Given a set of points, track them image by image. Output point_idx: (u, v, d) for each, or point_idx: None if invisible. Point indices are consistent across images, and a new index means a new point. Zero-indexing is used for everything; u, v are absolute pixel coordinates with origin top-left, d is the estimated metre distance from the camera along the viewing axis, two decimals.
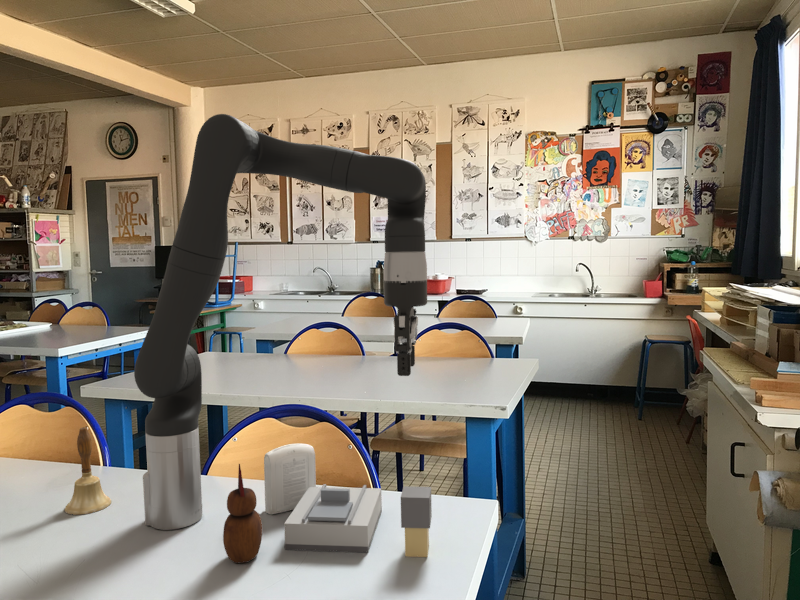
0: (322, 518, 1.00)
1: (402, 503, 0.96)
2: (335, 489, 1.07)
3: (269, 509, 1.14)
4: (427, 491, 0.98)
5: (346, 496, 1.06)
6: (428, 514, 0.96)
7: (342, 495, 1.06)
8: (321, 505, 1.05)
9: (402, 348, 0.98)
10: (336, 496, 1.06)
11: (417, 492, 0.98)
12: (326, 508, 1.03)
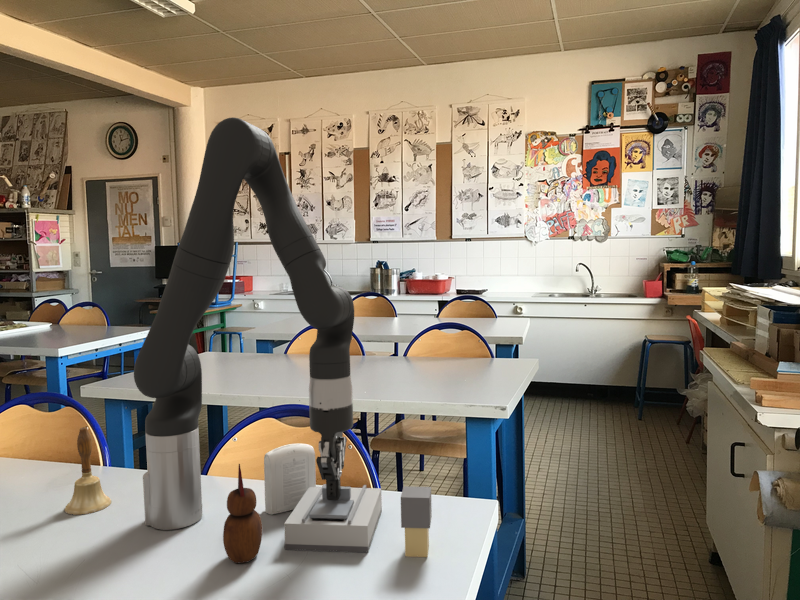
0: (324, 516, 1.01)
1: (402, 503, 0.96)
2: None
3: (269, 509, 1.14)
4: (427, 491, 0.98)
5: (347, 493, 1.07)
6: (428, 514, 0.96)
7: (343, 493, 1.07)
8: (322, 503, 1.06)
9: (329, 478, 1.02)
10: None
11: (417, 492, 0.98)
12: (327, 506, 1.04)
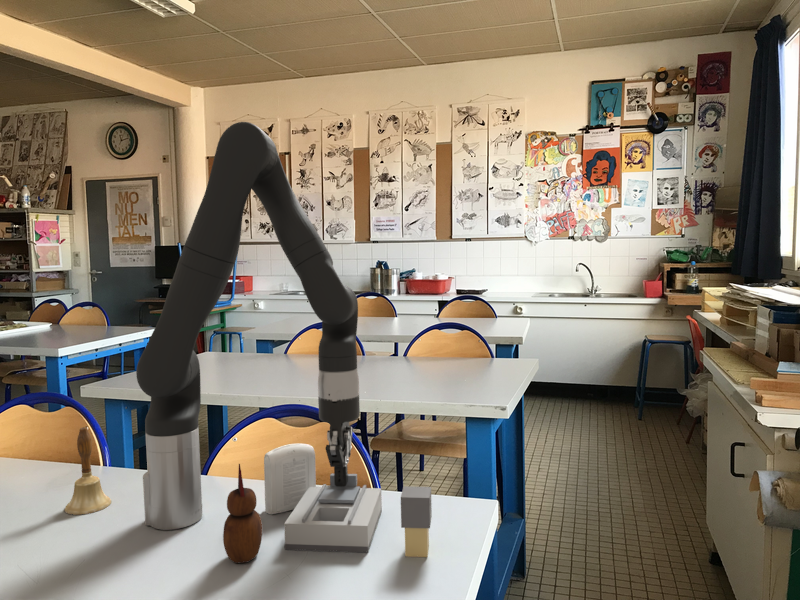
0: (332, 501, 1.07)
1: (402, 503, 0.96)
2: None
3: (269, 509, 1.14)
4: (427, 491, 0.98)
5: (353, 480, 1.13)
6: (428, 514, 0.96)
7: (350, 480, 1.13)
8: (330, 489, 1.12)
9: (337, 466, 1.09)
10: None
11: (417, 492, 0.98)
12: (335, 491, 1.11)
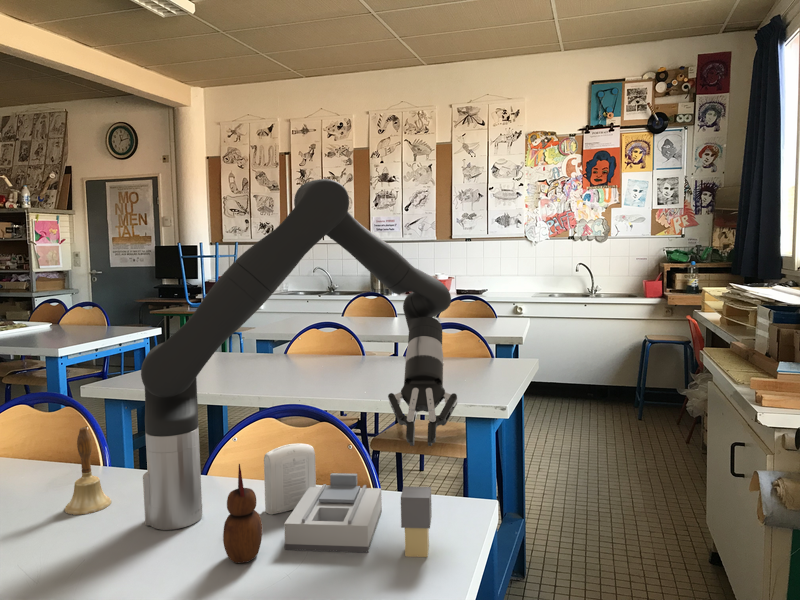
0: (332, 500, 1.07)
1: (402, 503, 0.96)
2: (343, 474, 1.14)
3: (269, 509, 1.14)
4: (427, 491, 0.98)
5: (353, 480, 1.13)
6: (428, 514, 0.96)
7: (350, 479, 1.13)
8: (331, 489, 1.12)
9: (445, 420, 1.11)
10: (344, 480, 1.13)
11: (417, 492, 0.98)
12: (335, 491, 1.11)
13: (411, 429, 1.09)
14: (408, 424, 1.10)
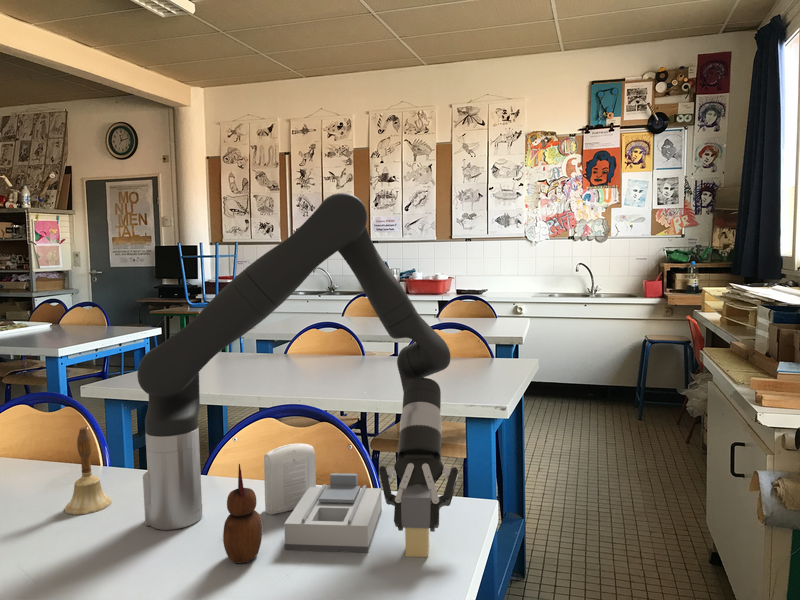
0: (332, 500, 1.07)
1: (402, 503, 0.96)
2: (343, 474, 1.14)
3: (269, 509, 1.14)
4: (427, 491, 0.98)
5: (353, 480, 1.13)
6: (428, 514, 0.96)
7: (350, 479, 1.13)
8: (331, 489, 1.12)
9: (449, 501, 0.99)
10: (344, 480, 1.13)
11: (417, 492, 0.98)
12: (335, 491, 1.11)
13: (400, 512, 0.97)
14: (396, 505, 0.99)
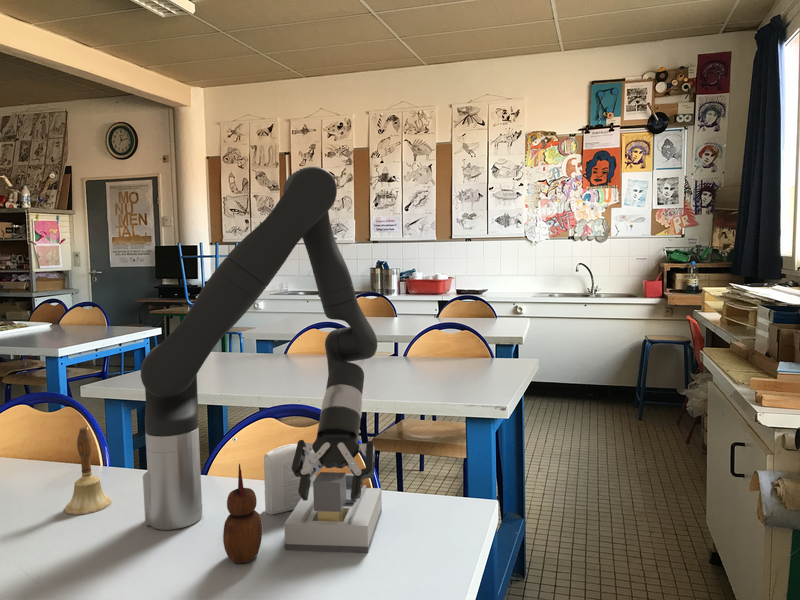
0: None
1: (314, 488, 1.01)
2: None
3: (269, 509, 1.14)
4: (340, 476, 1.03)
5: None
6: (339, 498, 1.00)
7: (350, 479, 1.13)
8: None
9: (372, 472, 1.04)
10: None
11: (330, 478, 1.02)
12: None
13: (304, 483, 1.03)
14: (302, 477, 1.04)
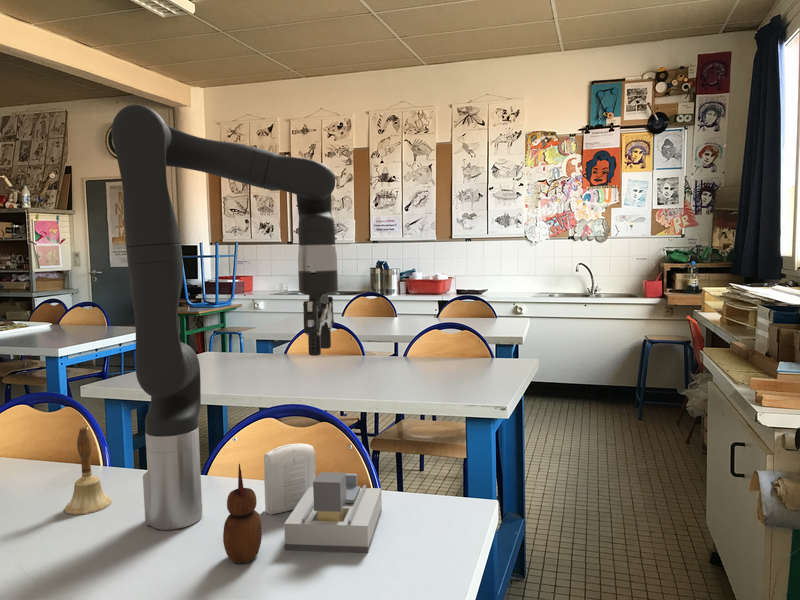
0: None
1: (314, 488, 1.01)
2: None
3: (269, 509, 1.14)
4: (340, 476, 1.03)
5: (353, 480, 1.13)
6: (339, 498, 1.00)
7: (350, 479, 1.13)
8: None
9: (310, 330, 1.10)
10: None
11: (330, 478, 1.02)
12: None
13: None
14: None
